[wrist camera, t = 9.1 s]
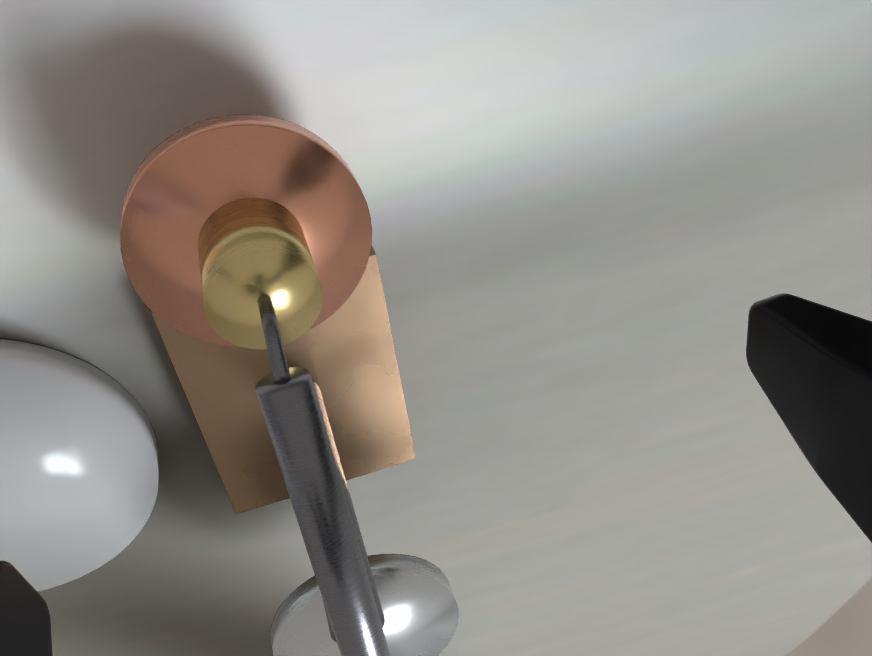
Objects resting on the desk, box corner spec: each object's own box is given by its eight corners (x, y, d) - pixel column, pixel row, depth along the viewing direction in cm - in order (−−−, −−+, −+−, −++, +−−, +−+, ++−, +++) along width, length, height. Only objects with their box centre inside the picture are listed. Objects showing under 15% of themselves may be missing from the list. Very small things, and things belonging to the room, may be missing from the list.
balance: (77, 116, 18) (16, 434, 9) (332, 61, 19) (488, 302, 10) (270, 581, 29) (324, 925, 20) (426, 530, 30) (540, 839, 21)
